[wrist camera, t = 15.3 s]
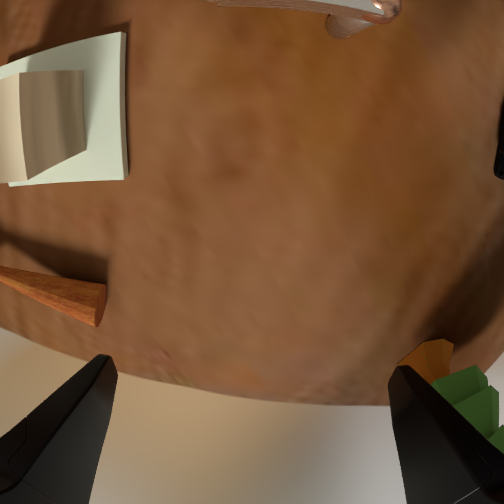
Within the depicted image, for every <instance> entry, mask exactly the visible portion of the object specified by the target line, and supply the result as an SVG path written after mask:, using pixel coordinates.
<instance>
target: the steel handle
mask: <svg viewBox="0 0 504 504" xmlns="http://www.w3.org/2000/svg"><path fill="white" fill-rule="evenodd" d="M202 1H203V2H205V1H209V2H216V3H217V5H218V7H266V8H281V9H292V10H301V11H310V12H317V13H324V14H330V16H329V17H328V18H327V20H326V22H325V27H326V30H327V32H328V33H329V34H330V35H331V36H332V37H334V38H337V39H346V38H348V37H350V36H352V35H354V34H356V33H358V32H360V31H362V30H364V29H366V28H368V27H370V26H372V25H374V24H387V23H390V22H392V21H394V20H395V19H396V18H397V17H398V16H399V15H400V13H401V9H402V2H401V0H202Z"/></svg>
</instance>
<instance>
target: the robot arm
mask: <svg viewBox="0 0 504 504" xmlns="http://www.w3.org/2000/svg"><path fill="white" fill-rule="evenodd" d="M500 170H501V171H500ZM499 172H500V173H499ZM494 174H495V176H496V177H498V178H500V179H503V180H504V113H503V121H502V129H501V135H500V141H499V147H498V153H497V158H496V163H495V168H494ZM117 379H118V374H117V370H116V367H115V364H114V362H113V359H112V357H111V356H109V355H104V354H99V355H97V356H96V357H94V358H93V359H92V360H91V361H90V362H89V363H87V364H86V365H85V366H84V367H83V368H82V369H80V370H79V371H78V372H77V373H76V374H75V375H73V376H72V377H71V378H70V379H69V380H67V381H66V382H65V383H64V384H63V385H62V386H61V387H59V388H58V389H57V390H56V391H55V392H54V393H53V394H51V395H50V396H49V397H48V398H47V399H46V400H44V401H43V402H42V403H41V404H40V405H39V406H38V407H36V408H35V409H34V410H33V411H32V412H31V413H30V414H29V415H27V418H26V417H25V418H24V419H23V420H21V422H19V423H18V424H17V425H16V426H14V427H13V428H12V429H11V430H10V431H9V432H7V433H6V434H4V435H3V436H2V437H1V438H0V504H89V500H90V495H91V491H92V486H93V482H94V478H95V474H96V469H97V465H98V462H99V458H100V454H101V450H102V446H103V443H104V439H105V436H106V432H107V429H108V425H109V421H110V417H111V412H112V406H113V401H114V394H115V389H116V384H117ZM388 392H389V400H390V408H391V417H392V426H393V431H394V436H395V440H396V446H397V451H398V456H399V460H400V466H401V471H402V477H403V483H404V488H405V495H406V501H407V504H504V453H502V452H501V451H500V450H499V449H498V448H496V447H495V446H494V445H493V444H492V443H491V442H489V441H488V440H487V439H486V438H485V437H484V436H483V435H482V434H481V433H480V432H479V431H478V430H476V428H475V427H474V426H473V425H472V424H471V423H470V422H469V421H468V420H467V419H466V418H464V417H463V416H462V415H461V414H460V413H459V412H458V411H457V410H456V409H455V408H454V407H453V406H452V405H451V404H450V403H449V402H448V401H447V400H446V399H445V398H444V397H443V396H442V395H441V394H440V393H438V392H437V391H436V390H435V389H434V388H433V387H432V386H431V385H430V384H429V383H428V382H427V381H426V380H425V379H424V378H423V377H422V376H420V375H419V374H418V373H417V372H416V371H415V370H414V369H413V368H412V367H411V366H409V365H399V366H397V367H396V368H395V370H394V372H393V374H392V376H391V378H390V379H389V382H388Z"/></svg>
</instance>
